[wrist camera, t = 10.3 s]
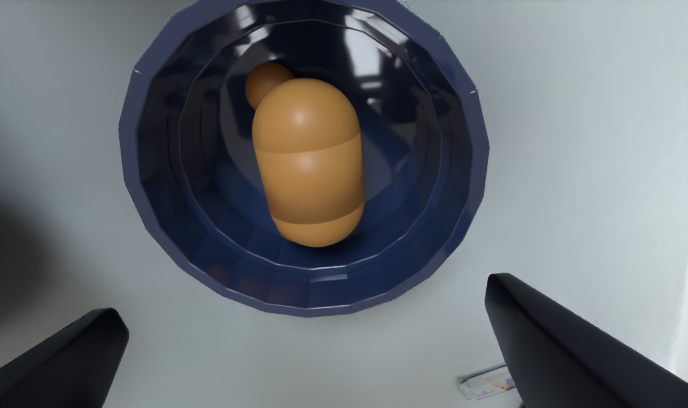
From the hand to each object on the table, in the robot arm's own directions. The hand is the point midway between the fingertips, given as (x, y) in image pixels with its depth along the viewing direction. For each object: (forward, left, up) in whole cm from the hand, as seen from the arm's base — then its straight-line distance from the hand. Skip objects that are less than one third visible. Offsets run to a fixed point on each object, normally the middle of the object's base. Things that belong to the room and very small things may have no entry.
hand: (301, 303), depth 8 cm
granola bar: (-12, +19, -10) cm, 25 cm away
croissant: (0, -1, -10) cm, 10 cm away
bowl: (0, -1, -10) cm, 10 cm away
